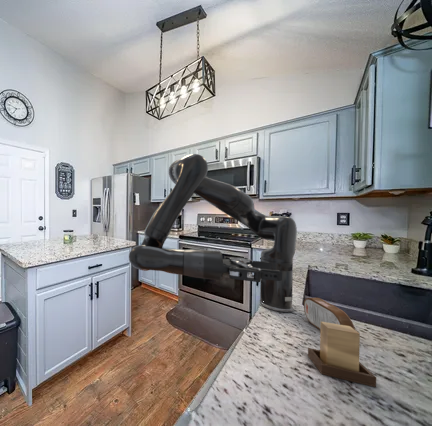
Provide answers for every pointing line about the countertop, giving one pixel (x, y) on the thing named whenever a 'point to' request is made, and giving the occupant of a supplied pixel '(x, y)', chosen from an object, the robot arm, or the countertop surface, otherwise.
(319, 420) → the countertop surface
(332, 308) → the tin
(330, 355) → the block
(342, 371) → the frame
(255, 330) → the countertop surface
